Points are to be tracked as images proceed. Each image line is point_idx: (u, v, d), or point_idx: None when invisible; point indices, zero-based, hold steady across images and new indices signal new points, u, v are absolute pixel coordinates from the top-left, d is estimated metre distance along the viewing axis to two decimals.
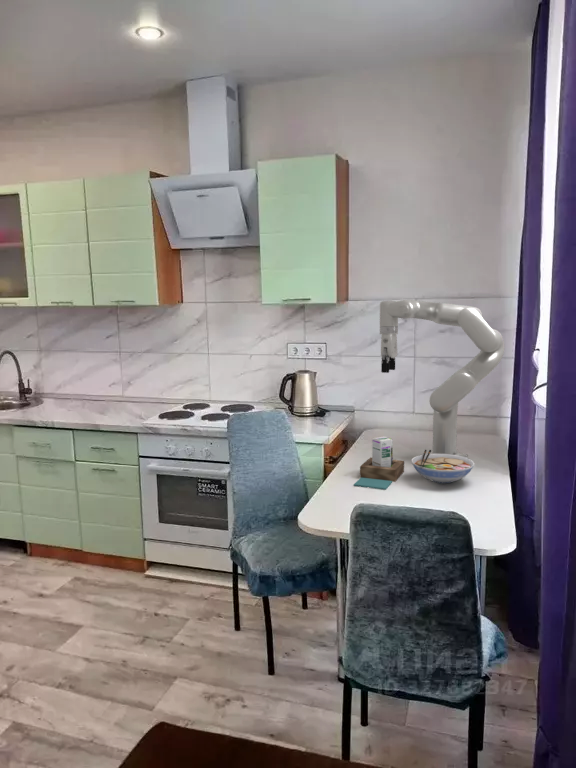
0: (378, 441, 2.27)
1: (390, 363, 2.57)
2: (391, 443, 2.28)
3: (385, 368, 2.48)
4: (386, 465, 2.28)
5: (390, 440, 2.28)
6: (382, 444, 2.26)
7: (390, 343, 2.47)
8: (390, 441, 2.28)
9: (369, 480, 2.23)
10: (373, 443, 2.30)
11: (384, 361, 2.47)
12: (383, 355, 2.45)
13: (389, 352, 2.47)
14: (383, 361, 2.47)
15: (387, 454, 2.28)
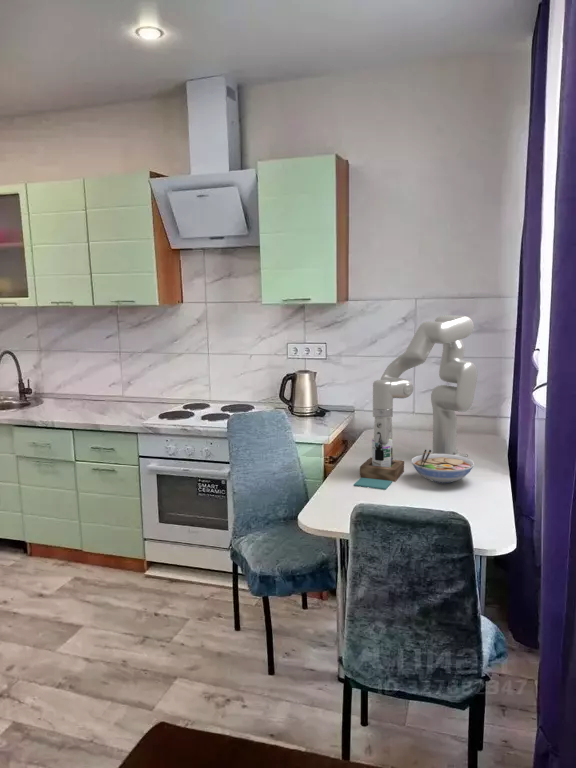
0: None
1: None
2: (391, 443, 2.28)
3: (379, 456, 2.25)
4: (386, 465, 2.28)
5: (390, 440, 2.28)
6: None
7: (384, 428, 2.24)
8: (390, 441, 2.28)
9: (369, 480, 2.23)
10: (373, 443, 2.30)
11: (378, 449, 2.24)
12: (377, 443, 2.22)
13: (383, 438, 2.24)
14: (377, 448, 2.25)
15: (387, 454, 2.28)
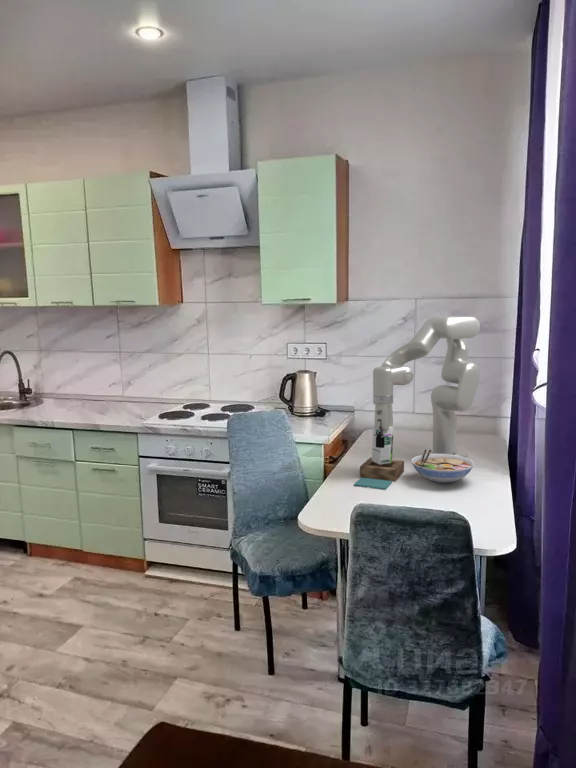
0: None
1: None
2: (392, 431, 2.28)
3: (380, 443, 2.25)
4: (386, 452, 2.28)
5: (391, 428, 2.27)
6: None
7: (385, 415, 2.23)
8: (392, 429, 2.27)
9: (369, 480, 2.23)
10: (374, 430, 2.29)
11: (379, 436, 2.24)
12: (377, 430, 2.22)
13: (384, 425, 2.23)
14: (377, 436, 2.24)
15: (388, 441, 2.27)
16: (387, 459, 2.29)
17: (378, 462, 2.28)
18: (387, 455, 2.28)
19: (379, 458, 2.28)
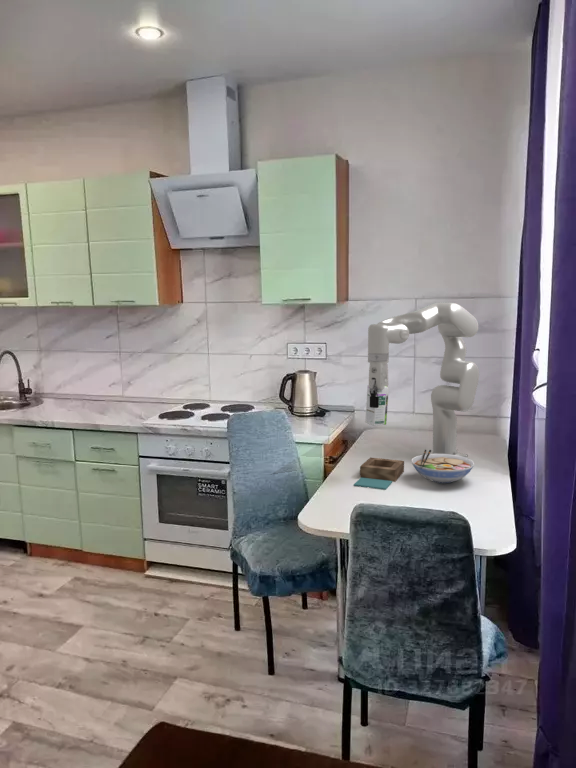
0: None
1: None
2: (387, 391, 2.19)
3: (374, 403, 2.16)
4: (380, 413, 2.19)
5: (386, 388, 2.19)
6: None
7: (379, 373, 2.15)
8: (386, 389, 2.19)
9: (369, 480, 2.23)
10: (368, 390, 2.21)
11: (373, 395, 2.15)
12: (371, 389, 2.13)
13: (378, 383, 2.15)
14: (371, 395, 2.16)
15: (382, 402, 2.19)
16: (381, 420, 2.20)
17: (372, 423, 2.20)
18: (381, 416, 2.20)
19: (373, 419, 2.19)
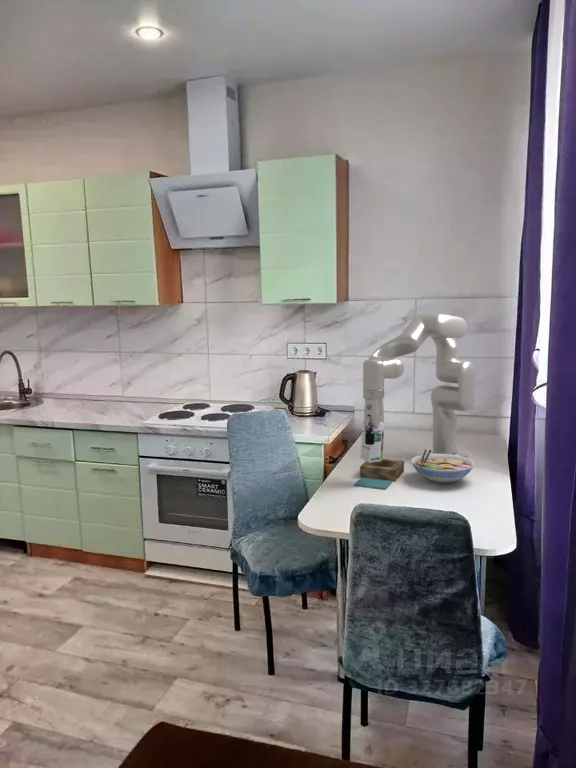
0: None
1: None
2: (383, 427, 2.16)
3: (369, 440, 2.13)
4: (376, 450, 2.16)
5: (381, 424, 2.15)
6: None
7: (375, 410, 2.11)
8: (382, 425, 2.15)
9: (369, 480, 2.23)
10: (364, 426, 2.17)
11: (368, 432, 2.12)
12: (367, 426, 2.10)
13: (374, 420, 2.11)
14: (367, 432, 2.12)
15: (378, 438, 2.15)
16: (377, 456, 2.16)
17: (367, 460, 2.16)
18: (377, 453, 2.16)
19: (368, 456, 2.15)
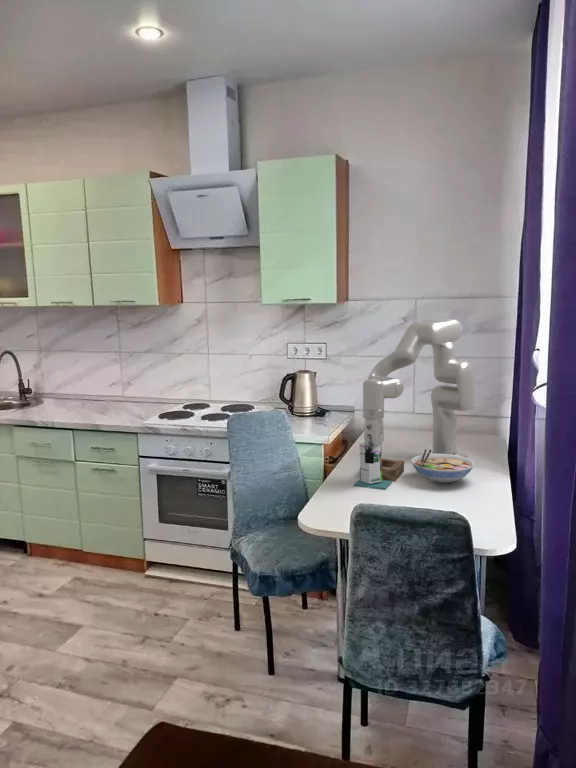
0: None
1: None
2: (379, 447, 2.18)
3: (369, 459, 2.13)
4: (375, 471, 2.18)
5: None
6: None
7: (375, 430, 2.12)
8: (378, 446, 2.18)
9: None
10: (360, 448, 2.20)
11: (368, 451, 2.12)
12: (366, 445, 2.10)
13: (374, 440, 2.12)
14: (367, 451, 2.12)
15: (375, 459, 2.18)
16: (377, 477, 2.18)
17: (368, 481, 2.18)
18: (376, 474, 2.18)
19: (368, 477, 2.17)
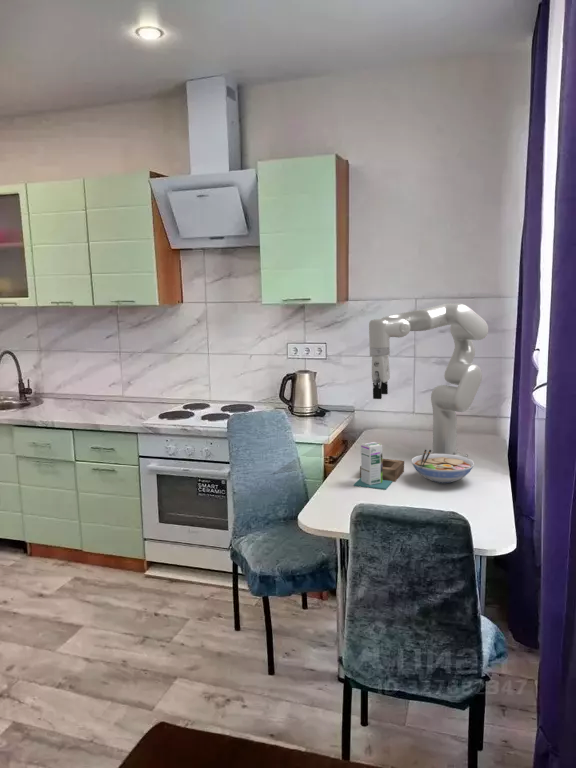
0: (367, 447, 2.16)
1: (382, 387, 2.34)
2: (381, 449, 2.17)
3: (377, 394, 2.24)
4: (375, 472, 2.17)
5: (379, 446, 2.17)
6: (371, 450, 2.15)
7: (382, 366, 2.23)
8: (380, 447, 2.17)
9: None
10: (362, 449, 2.19)
11: (376, 387, 2.23)
12: (375, 380, 2.21)
13: (381, 376, 2.23)
14: (375, 387, 2.23)
15: (377, 460, 2.17)
16: (377, 478, 2.18)
17: (368, 482, 2.18)
18: (377, 475, 2.18)
19: (369, 478, 2.17)
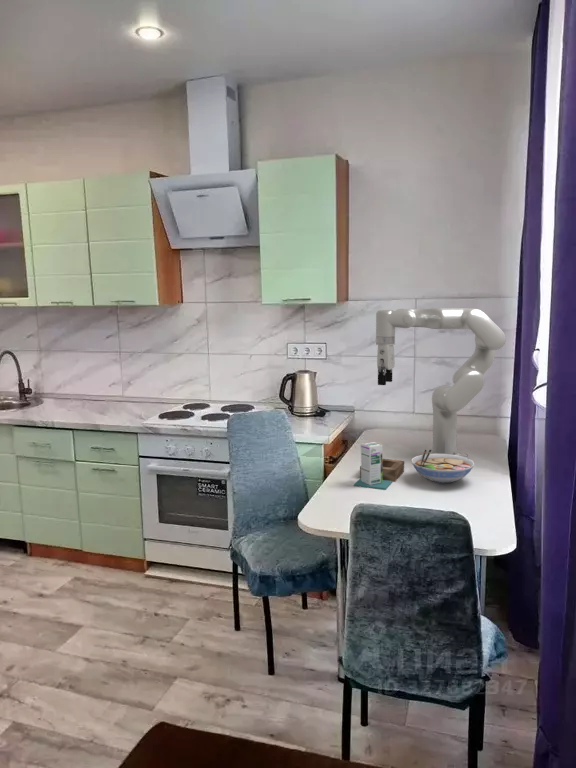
0: (367, 447, 2.16)
1: (387, 375, 2.46)
2: (381, 449, 2.17)
3: (382, 380, 2.37)
4: (375, 472, 2.17)
5: (379, 446, 2.17)
6: (371, 450, 2.15)
7: (387, 354, 2.36)
8: (380, 447, 2.17)
9: None
10: (362, 449, 2.19)
11: (380, 373, 2.36)
12: (379, 367, 2.34)
13: (386, 364, 2.36)
14: (379, 373, 2.36)
15: (377, 460, 2.17)
16: (377, 478, 2.18)
17: (368, 482, 2.18)
18: (377, 475, 2.18)
19: (369, 478, 2.17)
